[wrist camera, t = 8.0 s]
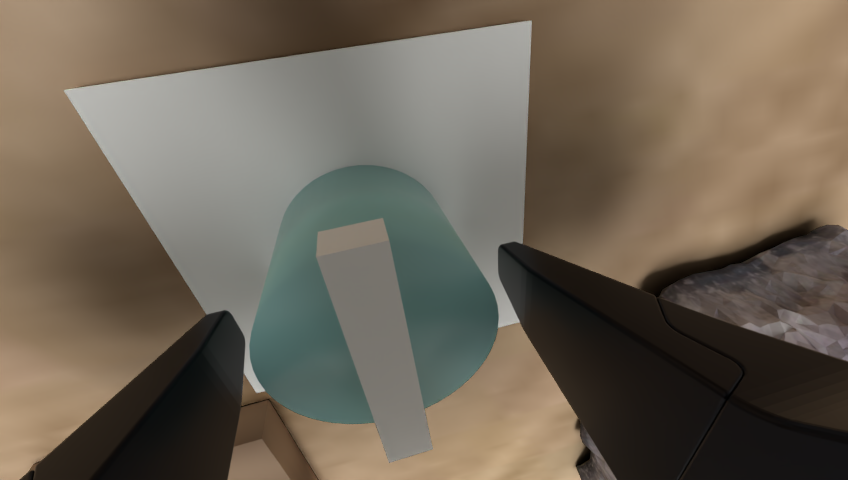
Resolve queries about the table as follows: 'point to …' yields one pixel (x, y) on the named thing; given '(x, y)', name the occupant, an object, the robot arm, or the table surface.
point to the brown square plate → (264, 448)
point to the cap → (370, 307)
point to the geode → (769, 302)
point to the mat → (319, 148)
